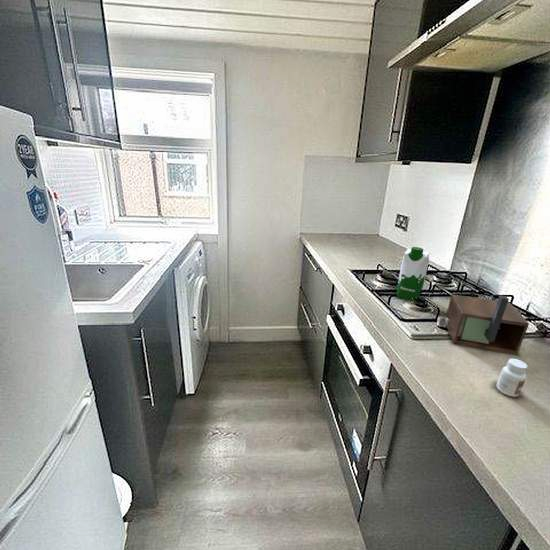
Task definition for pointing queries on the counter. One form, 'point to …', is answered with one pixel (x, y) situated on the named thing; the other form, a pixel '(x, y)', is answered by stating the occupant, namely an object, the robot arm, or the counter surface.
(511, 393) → the pill bottle
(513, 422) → the counter surface
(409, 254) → the milk carton
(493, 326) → the sliding door
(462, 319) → the cupboard
